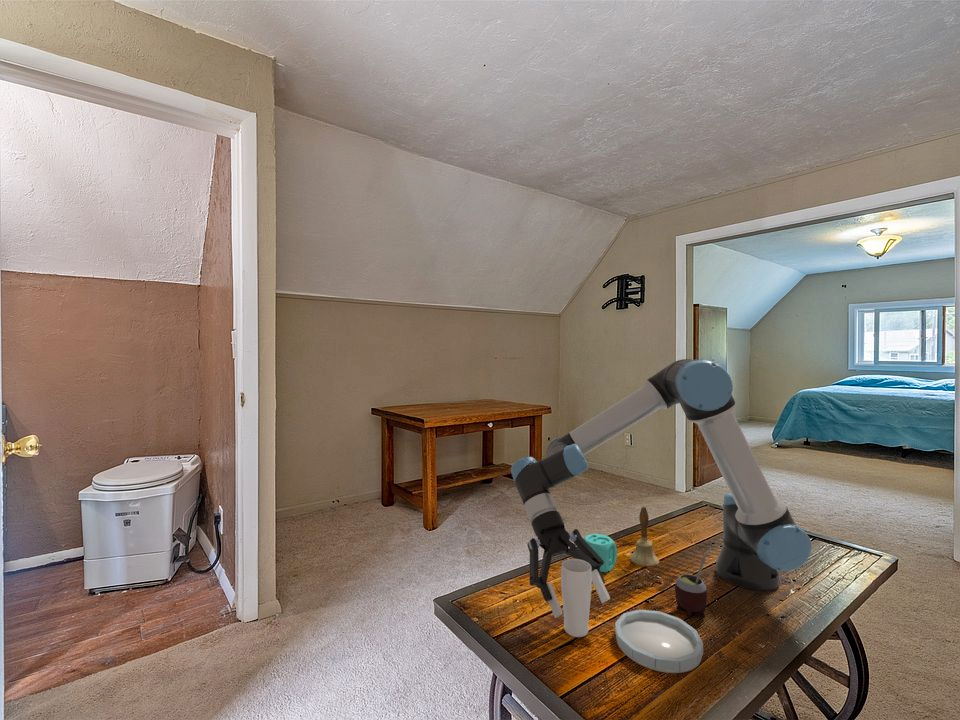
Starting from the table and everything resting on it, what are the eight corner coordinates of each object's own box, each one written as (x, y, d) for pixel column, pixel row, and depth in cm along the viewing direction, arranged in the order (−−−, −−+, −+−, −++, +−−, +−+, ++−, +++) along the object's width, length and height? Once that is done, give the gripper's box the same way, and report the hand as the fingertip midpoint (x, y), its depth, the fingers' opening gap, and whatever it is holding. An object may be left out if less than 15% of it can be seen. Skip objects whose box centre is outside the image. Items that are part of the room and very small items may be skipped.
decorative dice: (591, 557, 137) (592, 531, 137) (617, 565, 132) (617, 538, 132) (579, 567, 131) (579, 539, 131) (605, 575, 126) (605, 547, 126)
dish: (687, 624, 104) (687, 613, 104) (713, 677, 87) (714, 665, 87) (611, 617, 106) (611, 607, 106) (622, 667, 90) (622, 655, 90)
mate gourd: (672, 614, 108) (672, 552, 107) (678, 599, 114) (679, 540, 114) (706, 625, 103) (707, 560, 103) (711, 608, 110) (712, 548, 109)
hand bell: (637, 567, 131) (638, 513, 130) (625, 554, 139) (625, 503, 138) (664, 565, 132) (665, 511, 131) (650, 553, 140) (650, 502, 140)
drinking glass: (592, 642, 97) (592, 574, 97) (560, 638, 99) (560, 571, 98) (591, 623, 104) (591, 559, 104) (561, 620, 105) (561, 557, 105)
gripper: (577, 515, 120) (617, 600, 107) (496, 531, 109) (529, 628, 96) (590, 501, 115) (634, 589, 102) (506, 517, 104) (543, 617, 91)
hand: (583, 608), depth 99 cm, fingers open, 12 cm apart
